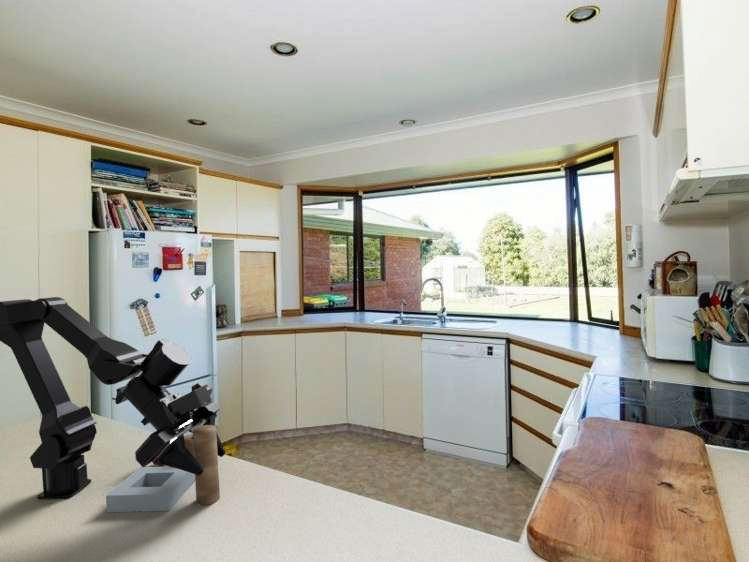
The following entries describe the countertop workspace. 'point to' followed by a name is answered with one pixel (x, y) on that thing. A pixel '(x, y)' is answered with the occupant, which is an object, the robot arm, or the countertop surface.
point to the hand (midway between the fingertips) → (213, 463)
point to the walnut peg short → (189, 443)
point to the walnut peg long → (206, 464)
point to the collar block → (149, 490)
